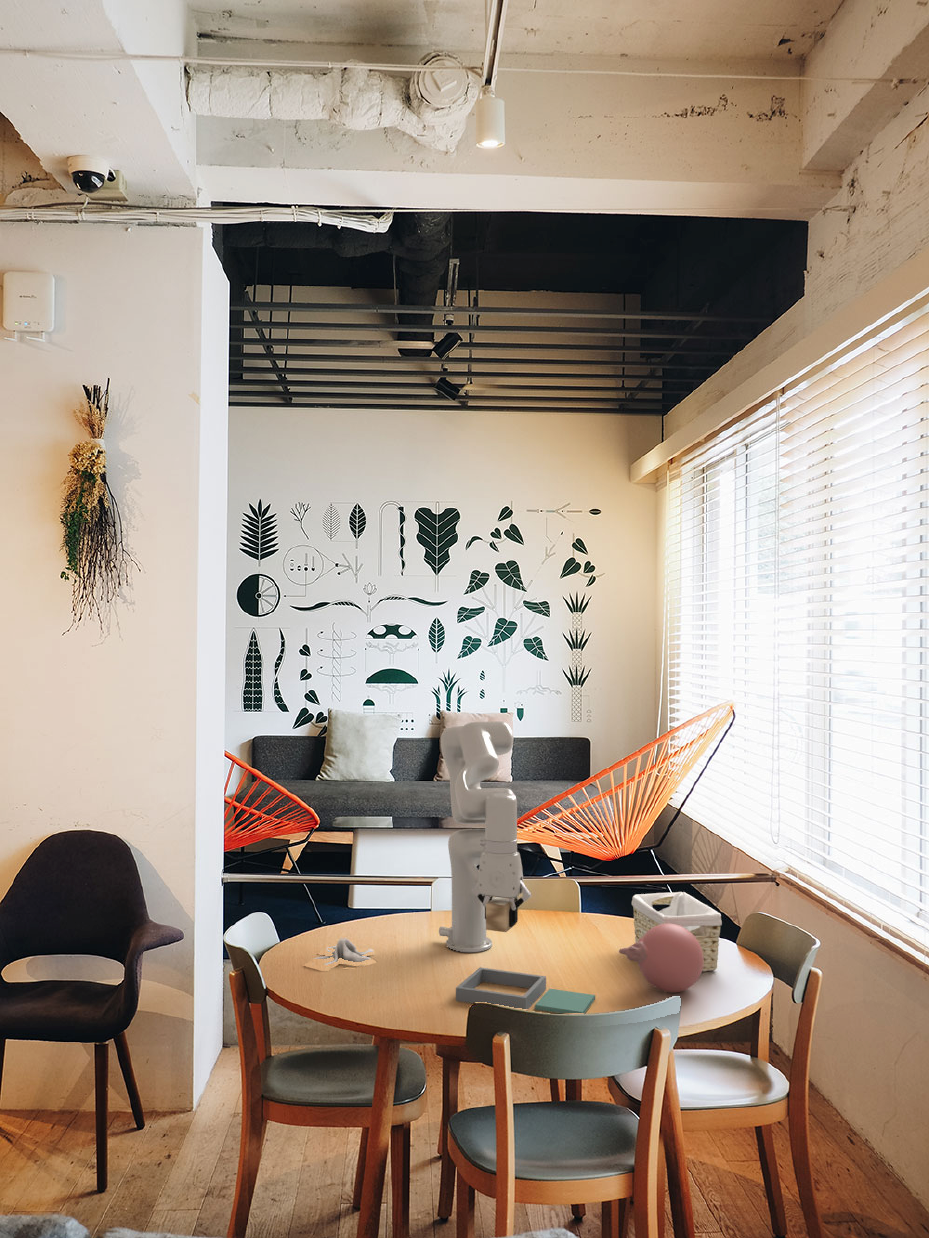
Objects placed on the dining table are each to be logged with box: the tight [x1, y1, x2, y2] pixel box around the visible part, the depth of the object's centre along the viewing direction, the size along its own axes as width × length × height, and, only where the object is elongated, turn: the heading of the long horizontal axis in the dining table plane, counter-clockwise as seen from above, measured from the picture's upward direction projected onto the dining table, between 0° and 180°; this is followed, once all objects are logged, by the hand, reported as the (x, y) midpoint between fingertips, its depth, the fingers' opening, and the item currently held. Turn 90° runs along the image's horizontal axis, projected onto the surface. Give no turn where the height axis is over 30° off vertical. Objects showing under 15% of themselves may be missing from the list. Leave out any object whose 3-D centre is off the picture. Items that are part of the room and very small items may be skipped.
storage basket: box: [631, 891, 723, 972], centre depth 240 cm, size 24×16×15 cm
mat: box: [534, 988, 596, 1014], centre depth 209 cm, size 11×11×1 cm
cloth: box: [312, 937, 374, 965], centre depth 240 cm, size 22×19×6 cm
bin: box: [455, 967, 547, 1010], centre depth 215 cm, size 17×15×3 cm
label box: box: [486, 897, 513, 933], centre depth 216 cm, size 5×7×6 cm
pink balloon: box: [618, 924, 704, 993], centre depth 218 cm, size 15×20×15 cm
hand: (501, 923), depth 216 cm, fingers closed on label box, 5 cm apart
